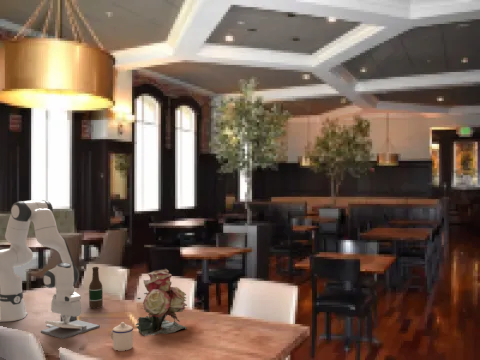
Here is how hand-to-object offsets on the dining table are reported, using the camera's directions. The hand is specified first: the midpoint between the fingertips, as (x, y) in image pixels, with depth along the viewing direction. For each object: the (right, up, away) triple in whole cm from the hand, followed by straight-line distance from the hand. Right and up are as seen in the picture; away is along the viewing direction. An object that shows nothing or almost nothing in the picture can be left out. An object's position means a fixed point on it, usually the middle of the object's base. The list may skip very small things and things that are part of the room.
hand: (66, 323), depth 251 cm
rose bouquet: (+48, -4, +6) cm, 48 cm away
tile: (-1, 0, 0) cm, 1 cm away
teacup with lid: (+33, -5, -24) cm, 41 cm away
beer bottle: (+1, -4, +49) cm, 49 cm away
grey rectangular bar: (-7, -5, +15) cm, 18 cm away
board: (+1, -4, +3) cm, 6 cm away
